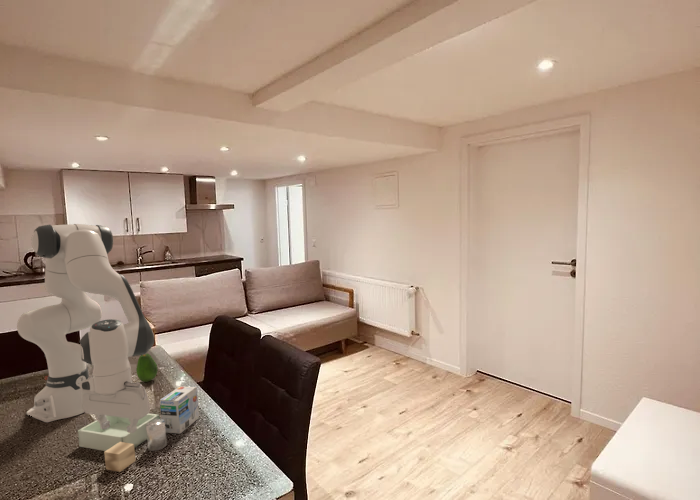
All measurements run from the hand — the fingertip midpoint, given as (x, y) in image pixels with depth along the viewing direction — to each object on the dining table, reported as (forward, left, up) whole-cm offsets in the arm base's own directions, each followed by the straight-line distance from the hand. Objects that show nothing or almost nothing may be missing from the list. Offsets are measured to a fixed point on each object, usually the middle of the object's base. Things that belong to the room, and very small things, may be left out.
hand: (118, 430), depth 109 cm
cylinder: (+3, +10, -10) cm, 14 cm away
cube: (0, 0, -10) cm, 10 cm away
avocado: (-40, +49, -10) cm, 64 cm away
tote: (-13, +11, -10) cm, 19 cm away
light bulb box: (+1, +22, -10) cm, 24 cm away
